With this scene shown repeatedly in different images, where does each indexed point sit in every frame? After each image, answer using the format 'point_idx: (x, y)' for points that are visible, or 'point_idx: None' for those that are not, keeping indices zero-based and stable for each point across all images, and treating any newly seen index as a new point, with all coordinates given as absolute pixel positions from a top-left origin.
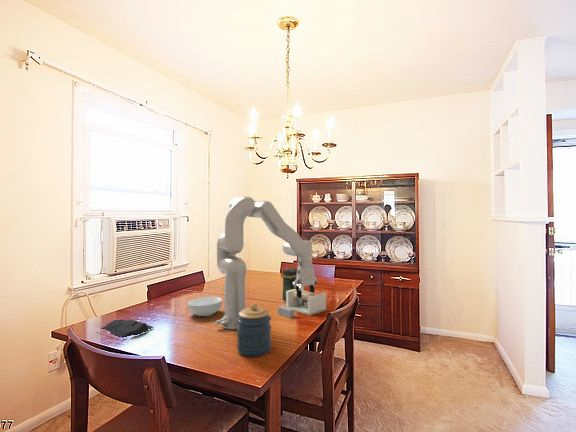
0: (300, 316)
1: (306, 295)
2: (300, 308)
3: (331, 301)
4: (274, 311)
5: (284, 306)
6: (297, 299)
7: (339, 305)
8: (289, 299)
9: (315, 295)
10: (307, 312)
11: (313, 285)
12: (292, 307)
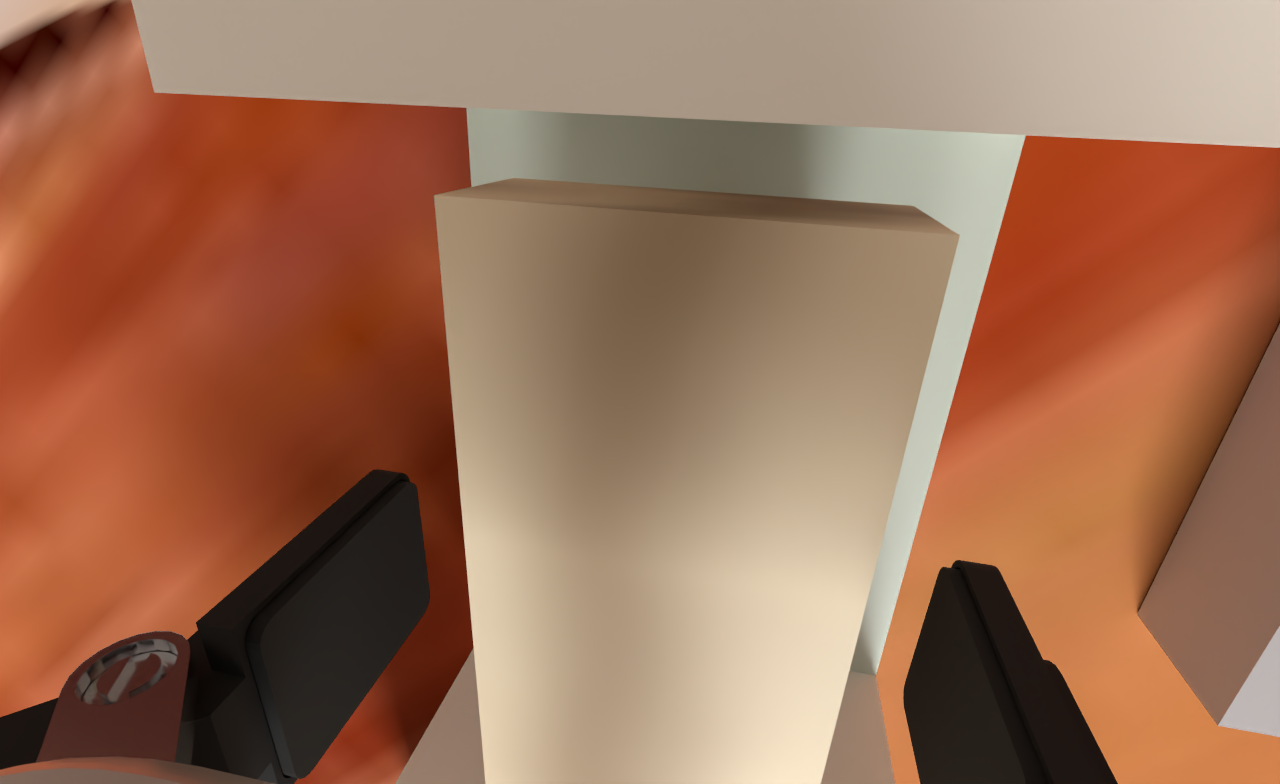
0: (1215, 190)
1: (887, 466)
2: None
3: (93, 322)
4: (1165, 730)
5: (1275, 665)
6: None
7: (81, 46)
8: (853, 781)
9: (782, 33)
10: (1003, 160)
11: (163, 709)
12: (881, 595)
